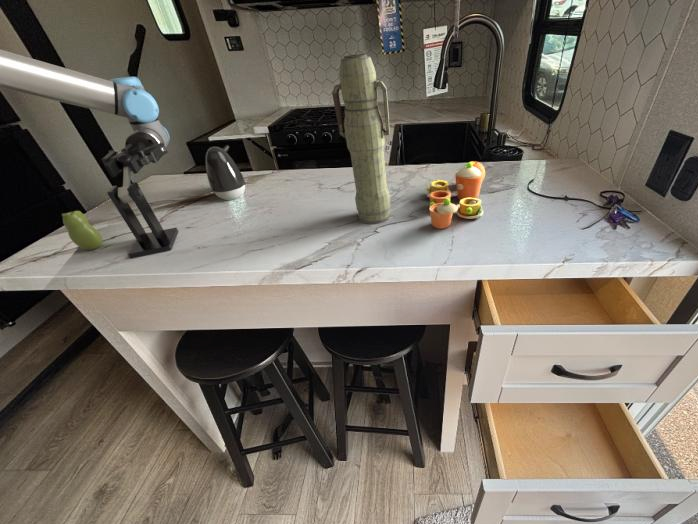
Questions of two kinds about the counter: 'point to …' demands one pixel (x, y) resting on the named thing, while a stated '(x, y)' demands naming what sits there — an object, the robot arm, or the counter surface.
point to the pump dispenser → (224, 174)
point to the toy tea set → (466, 192)
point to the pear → (81, 230)
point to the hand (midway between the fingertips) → (121, 169)
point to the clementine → (478, 167)
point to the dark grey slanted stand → (144, 241)
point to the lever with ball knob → (125, 178)
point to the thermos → (364, 135)
